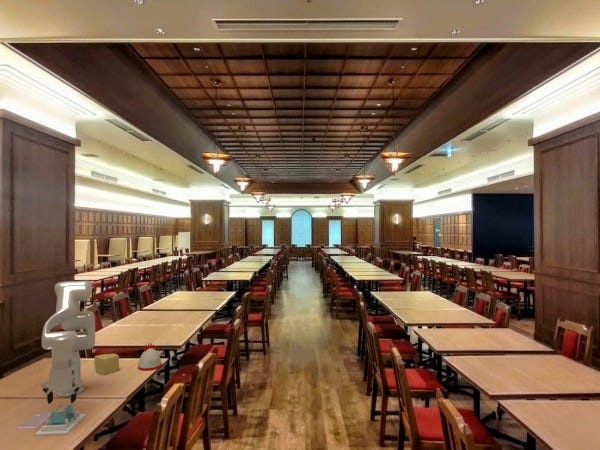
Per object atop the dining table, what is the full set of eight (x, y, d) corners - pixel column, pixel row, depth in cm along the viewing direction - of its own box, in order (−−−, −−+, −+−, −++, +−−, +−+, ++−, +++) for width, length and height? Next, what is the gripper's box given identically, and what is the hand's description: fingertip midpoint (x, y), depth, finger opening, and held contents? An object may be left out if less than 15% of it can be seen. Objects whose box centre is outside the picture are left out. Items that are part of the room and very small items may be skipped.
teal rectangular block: (61, 418, 187) (61, 404, 187) (72, 417, 187) (72, 404, 187) (50, 428, 177) (50, 414, 177) (62, 428, 177) (62, 413, 177)
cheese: (110, 367, 259) (110, 352, 260) (119, 371, 253) (119, 354, 253) (94, 372, 251) (94, 356, 251) (103, 376, 245) (103, 359, 245)
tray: (56, 416, 190) (56, 407, 190) (85, 415, 191) (85, 406, 191) (34, 435, 172) (34, 425, 172) (67, 434, 173) (67, 424, 173)
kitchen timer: (134, 367, 260) (134, 343, 261) (155, 362, 270) (155, 339, 270) (143, 372, 250) (143, 347, 250) (165, 367, 260) (165, 343, 260)
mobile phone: (17, 427, 179) (36, 412, 194) (17, 429, 179) (36, 414, 194) (35, 426, 180) (53, 411, 194) (35, 428, 179) (53, 413, 194)
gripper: (85, 360, 187) (85, 397, 187) (45, 361, 185) (46, 399, 186) (78, 366, 179) (78, 405, 180) (36, 367, 178) (36, 406, 178)
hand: (61, 402), depth 183 cm, fingers open, 9 cm apart
